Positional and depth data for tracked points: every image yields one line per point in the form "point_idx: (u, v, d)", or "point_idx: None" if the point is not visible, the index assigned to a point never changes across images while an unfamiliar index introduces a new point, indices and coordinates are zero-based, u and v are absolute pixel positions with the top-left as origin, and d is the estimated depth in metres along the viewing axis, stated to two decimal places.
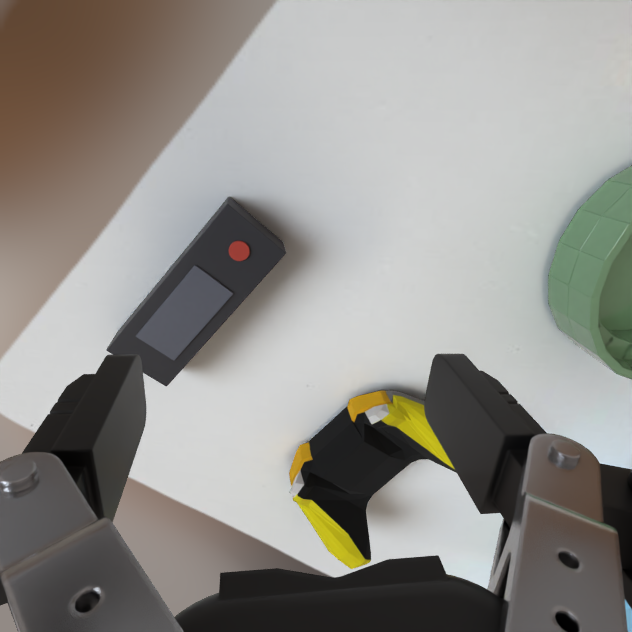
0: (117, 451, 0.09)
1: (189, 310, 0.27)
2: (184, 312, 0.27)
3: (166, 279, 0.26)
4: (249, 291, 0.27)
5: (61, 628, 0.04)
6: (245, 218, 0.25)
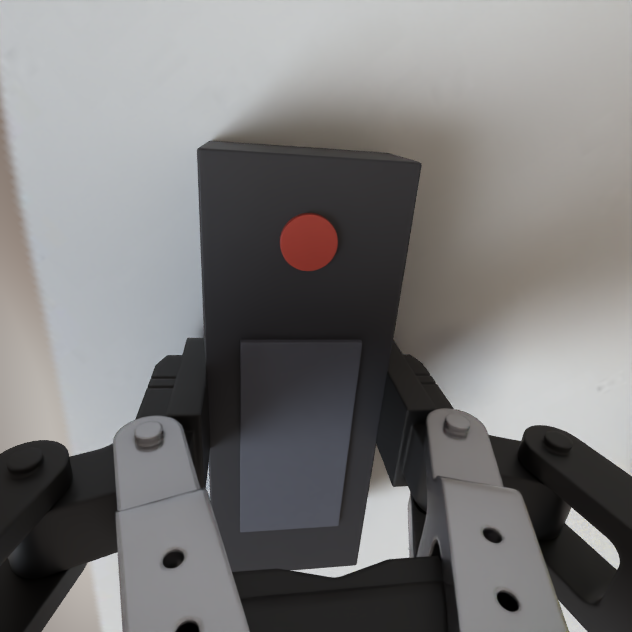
0: (207, 422, 0.10)
1: (299, 431, 0.11)
2: (293, 440, 0.11)
3: (210, 406, 0.10)
4: (393, 313, 0.10)
5: (149, 575, 0.05)
6: (267, 153, 0.08)
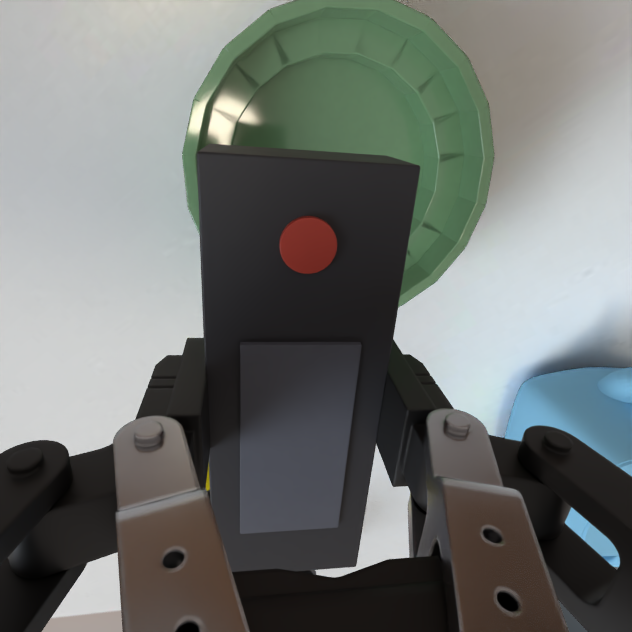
0: (207, 422, 0.10)
1: (298, 433, 0.11)
2: (293, 442, 0.11)
3: (210, 408, 0.10)
4: (392, 315, 0.10)
5: (149, 575, 0.05)
6: (266, 156, 0.08)
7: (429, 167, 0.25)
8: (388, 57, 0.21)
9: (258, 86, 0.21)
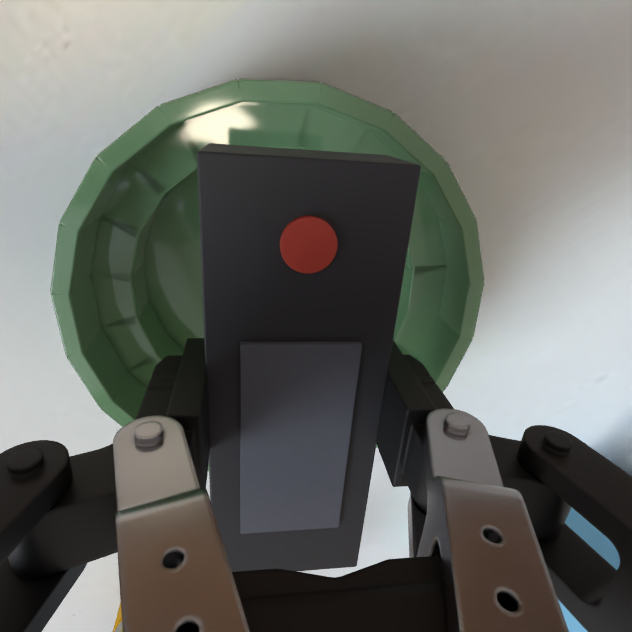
0: (207, 422, 0.10)
1: (299, 433, 0.11)
2: (293, 441, 0.11)
3: (210, 408, 0.10)
4: (393, 315, 0.10)
5: (149, 575, 0.05)
6: (267, 155, 0.08)
7: None
8: (342, 151, 0.16)
9: (165, 190, 0.15)
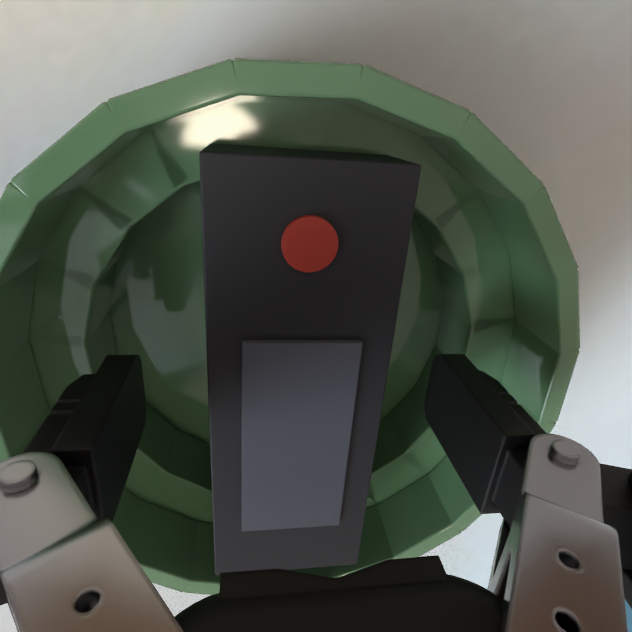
0: (117, 451, 0.09)
1: (300, 431, 0.11)
2: (294, 439, 0.11)
3: (212, 406, 0.11)
4: (393, 314, 0.10)
5: (62, 628, 0.04)
6: (268, 155, 0.08)
7: (452, 327, 0.15)
8: None
9: (129, 224, 0.11)
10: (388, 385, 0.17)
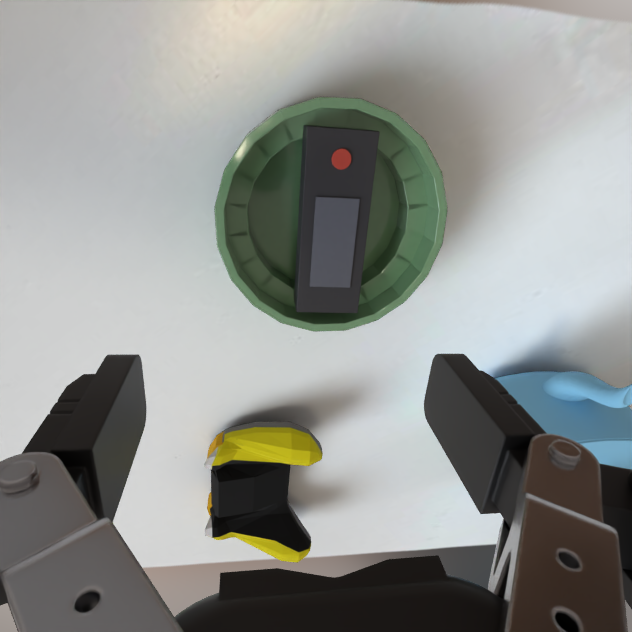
0: (117, 451, 0.09)
1: (335, 237, 0.28)
2: (332, 242, 0.29)
3: (302, 224, 0.28)
4: (371, 188, 0.28)
5: (61, 628, 0.04)
6: (328, 127, 0.26)
7: (402, 212, 0.32)
8: None
9: (270, 156, 0.28)
10: (373, 247, 0.34)
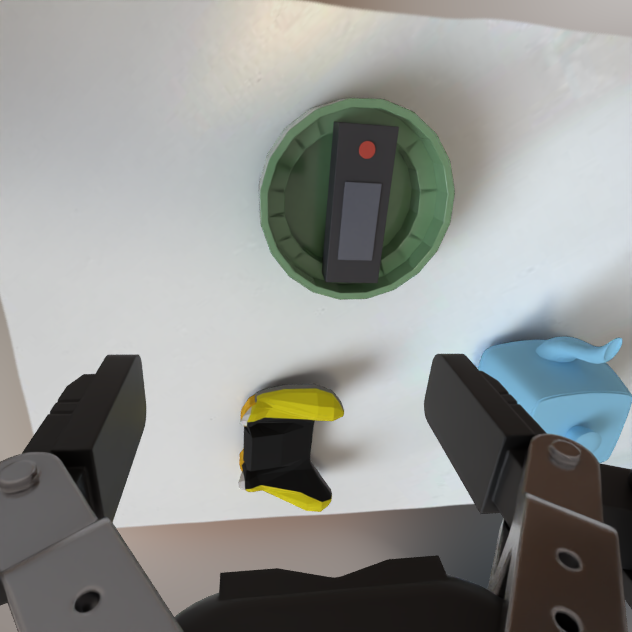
0: (117, 451, 0.09)
1: (360, 217, 0.34)
2: (358, 221, 0.34)
3: (333, 205, 0.33)
4: (391, 174, 0.33)
5: (61, 628, 0.04)
6: (357, 123, 0.31)
7: (414, 197, 0.37)
8: None
9: (305, 148, 0.33)
10: (389, 228, 0.39)
